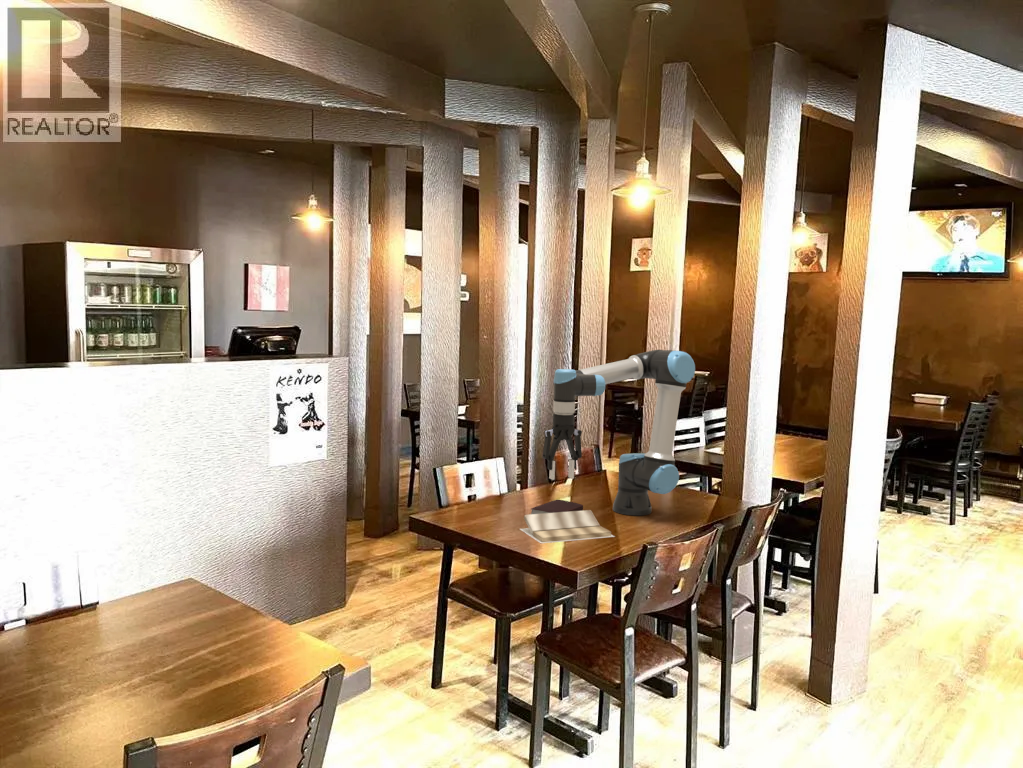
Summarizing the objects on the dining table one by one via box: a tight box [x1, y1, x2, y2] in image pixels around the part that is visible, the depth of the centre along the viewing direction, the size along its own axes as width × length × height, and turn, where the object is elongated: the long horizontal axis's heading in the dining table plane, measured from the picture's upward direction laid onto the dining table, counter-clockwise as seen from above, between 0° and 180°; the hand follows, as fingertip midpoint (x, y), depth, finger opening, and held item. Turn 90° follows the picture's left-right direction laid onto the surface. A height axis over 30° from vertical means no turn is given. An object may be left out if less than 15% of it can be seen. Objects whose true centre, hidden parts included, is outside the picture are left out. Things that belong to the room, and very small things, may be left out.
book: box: [530, 499, 584, 514], centre depth 293 cm, size 12×19×3 cm, turn 145°
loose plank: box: [523, 509, 601, 534], centre depth 264 cm, size 26×8×2 cm, turn 112°
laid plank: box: [533, 525, 612, 542], centre depth 257 cm, size 26×8×2 cm, turn 112°
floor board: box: [519, 527, 616, 544], centre depth 261 cm, size 28×18×1 cm, turn 112°
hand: (561, 478), depth 264 cm, fingers open, 7 cm apart
